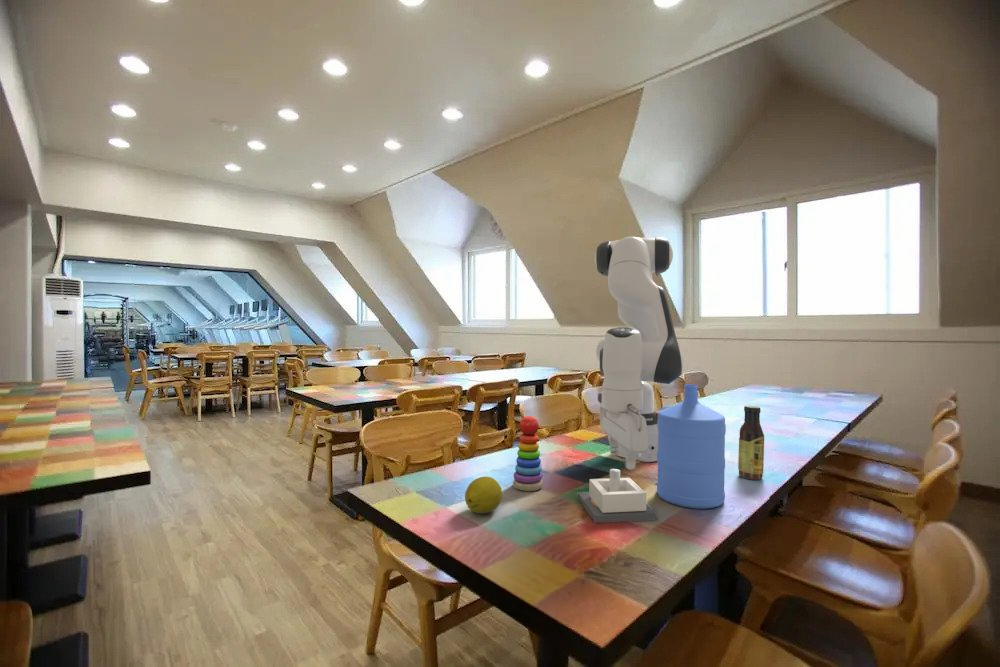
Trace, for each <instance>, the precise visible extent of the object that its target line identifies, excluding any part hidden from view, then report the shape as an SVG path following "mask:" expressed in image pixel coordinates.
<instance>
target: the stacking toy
mask: <svg viewBox="0 0 1000 667" xmlns="http://www.w3.org/2000/svg"><path fill="white" fill-rule="evenodd" d="M539 428H540V426H539V421H538V419H537V418H536V417H534V416H531V415H528V416H526V415H525V416H524V417H522V419H521V420H520V422H519V429H520V431H521V433H522V434H520V435H519V443H518V444H517V447H518V450H517V453H516V454H517V457H516V460H515V462H516V465H515V467H514V468H515V472H513V478H514V479H513V481H512V486H513V487H514V488H516V489H517V490H519V491H523V492H533V491H534V492H535V491H538V490H541V489H542V488H543V487H544V481H543V480H542V478H543V474H542V469H543V468H542V465H541V463H542V462H541V461H542V459H541V458H540V456H541V451H540V450H539V447H540V445H539V443H538V441H539V436H538V435H537V434H536V433H537V432H538V430H539Z"/></svg>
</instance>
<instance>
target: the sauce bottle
mask: <svg viewBox="0 0 1000 667" xmlns="http://www.w3.org/2000/svg"><path fill="white" fill-rule="evenodd" d="M743 411H744V419H743V420H744V422H743V424H742V425H741V427H740V428H739V437H738V462H737V465H738V466H737V467H738V468H737V469H738V475H739V477H741V478H743V479H746V480H753V481H755V480H757V481H759V480H762V479H763V476H764V468H765V467H764V466H765V463H764V462H765V461H764V460H765V434H764V432H763V429H762V426H761V423H760V422H761V420H760V415H761V414H760V413H761V407H760V406H756V405H744V406H743Z"/></svg>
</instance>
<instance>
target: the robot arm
mask: <svg viewBox="0 0 1000 667" xmlns="http://www.w3.org/2000/svg"><path fill="white" fill-rule="evenodd" d="M673 257H674V252H673V247H672V245H671V243H670V241H669V239H667V238H666V237H661V236H655V237H637V236H626V237H623V238H621V239H617V240H612V241H611V240H607V241H603V242H600V244H598V246H597V247H596V251H595V253H594V264H595V267H596V270H597V272H598V273H599V274H600V275H601V276H603V277H604V276H605V277H607V287H608V292H609V293H610V296H612V298H614V300H615V301H617V316H618V318H619V320H620V321H621V322H622V323H624V324H625V325H626V326H629V327H626V326H623V327H622V326H621V327H613V328H609V329H608V330H607V331H606V332H605V336H604V337H602V338H601V339H600V340H599V342H598V344H597V345H596V348H595V349H596V350H595V352H596V357H597V360H598V362H599V371H600V372H601V373H602V374H603V382H602V386H601V388H602V390H601V391H599V392H598V393H597V395H596V397H597V402H598V403H599V406H598V407H599V424H600V429H601V431H603V433H605V434H606V435H607V439H608V443H609V447H610V448H609V452H610V454H611V455H612V456H613V457H614V456H618V457H622V458H623V459H624V466H625V468H626V469H628V470H636V460H637V461H641V462H644V463H650V462H658V461H657V451H658V427H657V421H658V413H659V412H656V411H654V409H655V408H654V406H655V404H654V403H655V402H654V400H655V391H654V388H653V386H652V385H651V384H650V383H649V382H653V383H657V384H665V385H666V384H667V385H670V384H671V383H673V382H675V381H676V380H677V379H678V378H680V376H681V375H682V373H683V368H684V358H683V353H682V351H681V348H680V345H679V343H678V339H677V336H676V335H677V334H676V332H675V327H674V323H673V318H672V313H671V311H670V310H671V309H670V306H669V305H670V304H669V302H668V298H667V295H666V292H665V290H664V288H663V287H662V286H659V285H658V284H656V283H655V281H654V279H653V278H654V277H653V274H655V276H656V277H658V276H659V275H660V274H662V273H665V272H667V271H668V270H669V269H670V266H671V265H672V262H673Z"/></svg>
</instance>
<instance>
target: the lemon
mask: <svg viewBox="0 0 1000 667" xmlns="http://www.w3.org/2000/svg"><path fill="white" fill-rule="evenodd" d="M502 493H503V492H502V487H501V484H500V483H499V482H498V481H497V480H496V479H495V478H493V477H492V476H491V477H490V476H480V477H478V478H475V479H474V480H473V481H471V482H470V483H469V484H468V486H467V488H466V490H465V493H464V500H465V503H466V506H467V508H468V509H469V510H470V511H472V512H474V513H475V514H480V515H481V514H483V515H485V514H488V513H489V514H490V513H491V512H493V511H494V510H496V508H497V507H498V506H499V505H500V503H501V501H502V496H503V495H502Z"/></svg>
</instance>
